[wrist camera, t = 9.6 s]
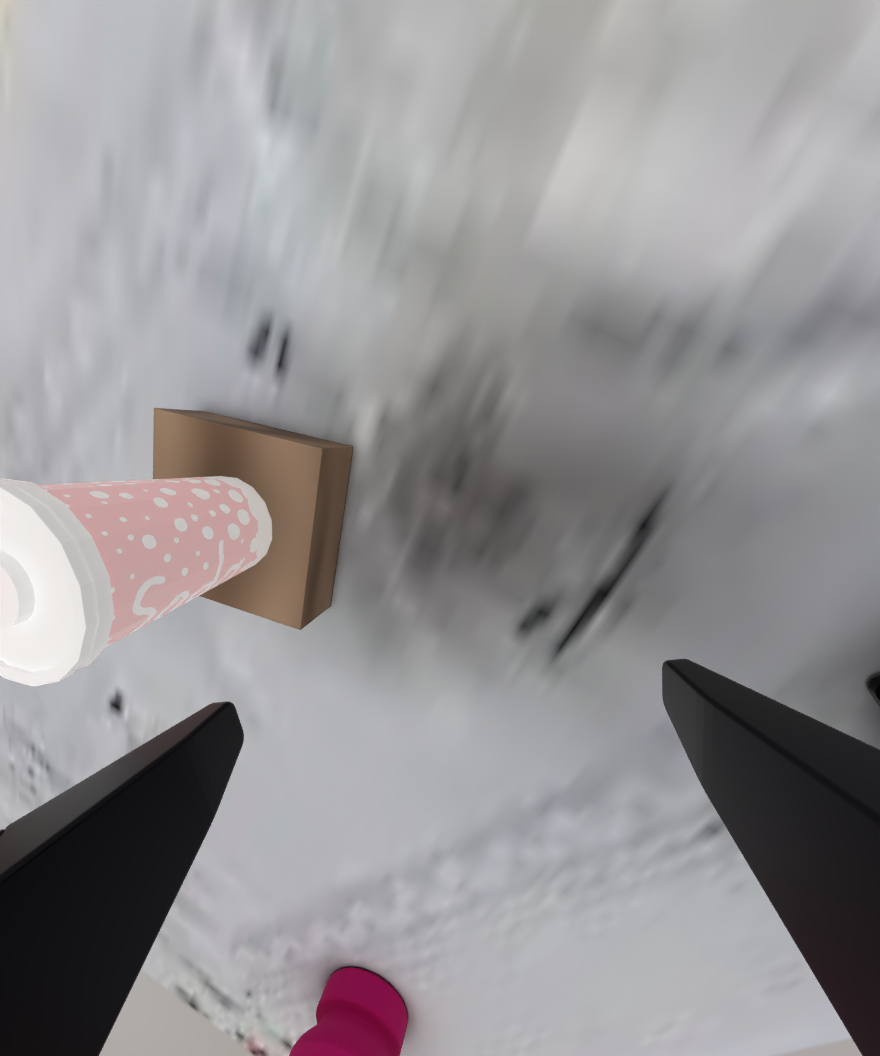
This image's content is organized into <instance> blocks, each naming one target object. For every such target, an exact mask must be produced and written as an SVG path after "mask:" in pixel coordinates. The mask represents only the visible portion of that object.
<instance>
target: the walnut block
mask: <svg viewBox="0 0 880 1056" xmlns="http://www.w3.org/2000/svg"><path fill="white" fill-rule="evenodd" d="M352 451H353V446H348V445H344V444H340V443H336V442H331V441H327V440H323V439H319V438H315V437H310V436H306V435H302V434H298V433H293V432H289V431H285V430H281V429H276V428H272V427H268V426H264V425H260V424H255V423H251V422H247V421H243V420H238V419H234V418H230V417H226V416H221V415H217V414H213V413H209V412H205V411H192V410H176V409H161V408H154V444H153V479H172V478H192V477H213V476H224V477H232V478H238V479H240V480H241V481H243V482H245V483H246V484H248V485H250V486H252V487H253V488H254V489H255V491H256V492H257V493H258V494H259V495H260V497H261V498H262V499H263V500H264V502H265V504H266V506H267V509H268V512H269V514H270V517H271V520H272V541H271V543H270V546H269V548H268V551H267V554H266V555H265V556H264V557H263V558H262V559H261V560H260V561H259V562H258V563H257V564H256V565H254V566H252V567H250V568H248V569H247V570H245V571H243V572H241V573H239V574H238V575H236V576H234V577H232V578H230V579H228V580H227V581H225V582H223V583H221V584H219V585H218V586H216V587H214V588H212V589H210V590H208V591H207V592H205V593H203V594H201V595H199V596H201V597H204V598H207V599H210V600H213V601H216V602H219V603H222V604H225V605H228V606H231V607H234V608H237V609H240V610H243V611H246V612H249V613H252V614H255V615H257V616H260V617H263V618H266V619H269V620H272V621H275V622H278V623H281V624H284V625H287V626H290V627H293V628H296V629H299V630H301V629H302V628H303V627H305V626H306V625H307V624H309V623H310V622H311V621H312V620H314V619H315V618H316V617H317V616H319V615H320V614H321V613H322V612H324V611H325V610H326V609H328V608H329V607H330V606H331V599H332V592H333V585H334V578H335V571H336V564H337V557H338V550H339V543H340V536H341V529H342V522H343V515H344V508H345V500H346V493H347V486H348V479H349V472H350V465H351V458H352Z"/></svg>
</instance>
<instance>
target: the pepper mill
mask: <svg viewBox="0 0 880 1056" xmlns="http://www.w3.org/2000/svg"><path fill="white" fill-rule="evenodd" d="M316 1018H317V1025H316V1026H314V1027H313V1028H311V1029H310V1030H308V1031H307V1032H306V1033H304V1034H303V1035H302V1036H301V1037H300V1039H299V1040H298V1041H297V1042H296V1044H295V1045H294V1047H293V1048H292V1050H291V1052H290V1055H289V1056H400V1052H401V1048H402V1044H403V1040H404V1036H405V1032H406V1027H407V1023H408V1017H407V1010H406V1008H405V1005H404V1002H403V1000H402V999H401V997H400V996H399V994H398V993H397V992H396V991H395V989H394V988H393V987H392V986H391V985H389V984H388V983H387V982H386V981H385V980H383V979H382V978H380V977H379V976H377V975H376V974H374V973H371V972H369V971H366V970H363V969H359V968H352V967H348V968H342V969H340V970H338V971H335V972H334V973H333V974H332V975H331V976H330V978H329V980H328V982H327V984H326V986H325V989H324V991H323V994H322V996H321V999H320V1001H319V1004H318V1006H317V1011H316Z"/></svg>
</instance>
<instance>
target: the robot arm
mask: <svg viewBox="0 0 880 1056" xmlns="http://www.w3.org/2000/svg"><path fill="white" fill-rule="evenodd" d="M868 688H869V691H870V693H871V694H872V695H873V697H874V698H875V700H876V701H877V703H878V704H879V705H880V676H877V677H875V678H873V679H872V680H871V681H870V682H869V686H868ZM662 695H663V702H664V706H665V709H666V711H667V713H668V715H669V717H670V719H671V722H672V724H673V726H674V728H675V730H676V732H677V734H678V736H679V739H680V741H681V743H682V745H683V747H684V749H685V751H686V754H687V756H688V758H689V760H690V762H691V764H692V766H693V768H694V771H695V773H696V775H697V777H698V779H699V781H700V783H701V785H702V787H703V788H704V790H705V792H706V794H707V796H708V797H709V799H710V801H711V803H712V804H713V806H714V808H715V809H716V811H717V813H718V814H719V816H720V818H721V819H722V821H723V823H724V824H725V826H726V828H727V829H728V831H729V833H730V834H731V836H732V838H733V839H734V841H735V843H736V844H737V846H738V848H739V849H740V851H741V853H742V854H743V856H744V858H745V860H746V861H747V863H748V865H749V866H750V868H751V870H752V871H753V873H754V875H755V876H756V878H757V880H758V881H759V883H760V885H761V886H762V888H763V890H764V891H765V893H766V895H767V896H768V898H769V900H770V901H771V903H772V905H773V906H774V908H775V910H776V911H777V913H778V915H779V917H780V918H781V920H782V922H783V923H784V925H785V927H786V928H787V930H788V932H789V933H790V935H791V937H792V938H793V940H794V942H795V943H796V945H797V947H798V948H799V950H800V952H801V953H802V955H803V957H804V958H805V960H806V962H807V963H808V965H809V967H810V969H811V970H812V972H813V974H814V975H815V977H816V979H817V980H818V982H819V984H820V985H821V987H822V989H823V990H824V992H825V994H826V995H827V997H828V999H829V1000H830V1002H831V1004H832V1005H833V1007H834V1009H835V1010H836V1012H837V1014H838V1015H839V1017H840V1019H841V1020H842V1022H843V1024H844V1026H845V1027H846V1029H847V1031H848V1032H849V1034H850V1036H851V1037H852V1039H853V1041H854V1042H855V1044H856V1046H857V1047H858V1049H859V1051H860V1052H861V1054H862V1056H880V750H879V749H877V748H875V747H873V746H871V745H868V744H866V743H864V742H862V741H860V740H858V739H856V738H854V737H851V736H849V735H847V734H845V733H843V732H841V731H839V730H837V729H834V728H832V727H830V726H828V725H826V724H824V723H822V722H820V721H817V720H815V719H813V718H811V717H809V716H807V715H805V714H803V713H800V712H798V711H796V710H794V709H792V708H790V707H788V706H786V705H783V704H781V703H779V702H777V701H775V700H773V699H771V698H769V697H766V696H764V695H762V694H760V693H758V692H756V691H754V690H752V689H749V688H747V687H745V686H743V685H741V684H739V683H737V682H735V681H732V680H730V679H728V678H726V677H724V676H722V675H720V674H718V673H715V672H713V671H711V670H709V669H707V668H705V667H703V666H701V665H698V664H696V663H694V662H692V661H690V660H687V659H676V660H667V661H665V662H664V663H663V666H662ZM243 740H244V733H243V729H242V726H241V723H240V720H239V717H238V714H237V711H236V708H235V706H234V704H233V703H231V702H218V703H212V704H210V705H208V706H206V707H205V708H203V709H201V710H200V711H198V712H196V713H195V714H193V715H191V716H190V717H188V718H186V719H185V720H183V721H181V722H180V723H178V724H176V725H175V726H173V727H171V728H170V729H168V730H166V731H165V732H163V733H161V734H160V735H158V736H156V737H155V738H153V739H151V740H150V741H148V742H146V743H145V744H143V745H141V746H140V747H138V748H136V749H135V750H133V751H131V752H130V753H128V754H126V755H125V756H123V757H121V758H120V759H118V760H116V761H115V762H113V763H111V764H110V765H108V766H106V767H105V768H103V769H101V770H100V771H98V772H96V773H95V774H93V775H91V776H90V777H88V778H86V779H85V780H83V781H81V782H80V783H78V784H76V785H75V786H73V787H71V788H70V789H68V790H66V791H65V792H63V793H61V794H60V795H58V796H57V797H55V798H53V799H52V800H50V801H48V802H47V803H45V804H43V805H42V806H40V807H38V808H37V809H35V810H33V811H32V812H30V813H28V814H27V815H25V816H23V817H22V818H20V819H18V820H17V821H15V822H13V823H12V824H10V825H8V826H7V827H6V829H5V830H0V1056H99V1054H100V1052H101V1050H102V1048H103V1046H104V1044H105V1042H106V1040H107V1038H108V1035H109V1033H110V1031H111V1029H112V1027H113V1025H114V1023H115V1021H116V1019H117V1017H118V1015H119V1013H120V1011H121V1009H122V1007H123V1005H124V1003H125V1001H126V998H127V997H128V994H129V992H130V990H131V988H132V986H133V984H134V982H135V980H136V978H137V976H138V974H139V972H140V970H141V968H142V966H143V964H144V962H145V960H146V957H147V955H148V953H149V951H150V949H151V947H152V945H153V943H154V941H155V939H156V937H157V935H158V933H159V931H160V929H161V927H162V925H163V923H164V921H165V918H166V916H167V914H168V912H169V910H170V908H171V906H172V904H173V902H174V900H175V898H176V896H177V894H178V892H179V890H180V888H181V886H182V884H183V881H184V879H185V877H186V875H187V873H188V871H189V869H190V867H191V865H192V863H193V861H194V859H195V857H196V855H197V853H198V851H199V849H200V847H201V844H202V842H203V840H204V838H205V836H206V834H207V832H208V830H209V828H210V826H211V823H212V821H213V819H214V817H215V814H216V812H217V809H218V807H219V805H220V802H221V799H222V797H223V794H224V792H225V789H226V786H227V784H228V781H229V779H230V776H231V774H232V771H233V768H234V766H235V763H236V761H237V758H238V755H239V753H240V750H241V748H242V745H243Z"/></svg>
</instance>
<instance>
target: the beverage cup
mask: <svg viewBox="0 0 880 1056" xmlns="http://www.w3.org/2000/svg"><path fill="white" fill-rule="evenodd" d="M271 541H272V520H271V517H270V514H269V512H268V509H267V506H266V504H265V502H264V500H263V499H262V498H261V497H260V495H259V494H258V493H257V492H256V491H255V489H254V488H253V487H252V486H250V485H248V484H246V483H245V482H243V481H241V480H240V479H238V478H232V477H224V476H213V477H192V478H172V479H151V480H130V481H109V482H88V483H67V484H47V485H36V484H34V483H32V482H25V481H18V480H11V479H5V478H0V676H2V677H3V678H5V679H9V680H12V681H16V682H19V683H22V684H26V685H29V686H33V687H34V686H39V685H44V684H48V683H53V682H58V681H61V680H63V679H65V678H67V677H69V676H70V675H71V674H72V673H73V672H74V671H75V670H76V669H79V668H82V667H85V666H88V665H89V664H90V663H91V662H92V661H93V660H94V659H95V658H96V657H97V656H98V655H99V654H100V653H101V652H102V650H103V649H104V648H105V647H106V646H108V645H110V644H112V643H114V642H115V641H117V640H119V639H121V638H123V637H125V636H126V635H128V634H130V633H132V632H134V631H136V630H137V629H139V628H141V627H143V626H145V625H146V624H148V623H150V622H152V621H154V620H156V619H157V618H159V617H161V616H163V615H165V614H166V613H168V612H170V611H172V610H174V609H176V608H177V607H179V606H181V605H183V604H185V603H187V602H188V601H190V600H192V599H194V598H196V597H197V596H199V595H201V594H203V593H205V592H207V591H208V590H210V589H212V588H214V587H216V586H218V585H219V584H221V583H223V582H225V581H227V580H228V579H230V578H232V577H234V576H236V575H238V574H239V573H241V572H243V571H245V570H247V569H248V568H250V567H252V566H254V565H256V564H257V563H258V562H259V561H260V560H261V559H262V558H263V557H264V556H265V555H266V554H267V551H268V548H269V546H270V543H271Z"/></svg>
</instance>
